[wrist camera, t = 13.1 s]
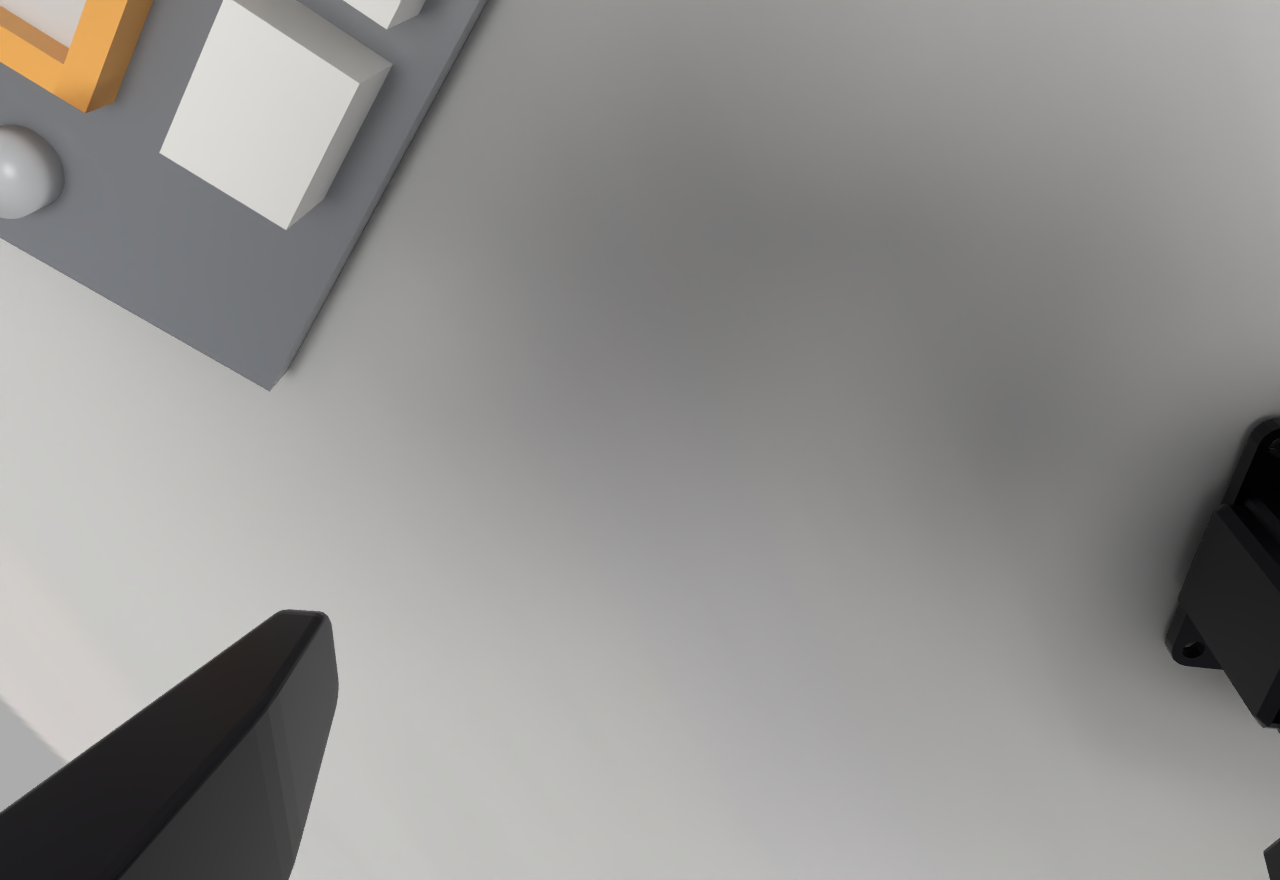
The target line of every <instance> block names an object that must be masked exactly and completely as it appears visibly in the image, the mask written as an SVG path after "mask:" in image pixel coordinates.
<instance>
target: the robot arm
mask: <svg viewBox="0 0 1280 880" xmlns="http://www.w3.org/2000/svg"><path fill="white" fill-rule="evenodd" d="M1279 438H1280V418H1273V419H1270V420H1267V421H1265V422H1262V423H1261V424H1260V425H1259V426H1257V427H1256V428H1255V429H1254V430H1253V432H1252V433H1251V435H1250V437H1249V439H1248V441H1247V444H1246V446H1245V449H1244V451H1243V453H1242V456H1241V458H1240V460H1239V463H1238V465H1237V468H1236V470H1235V472H1234V475H1233V477H1232V480H1231V482H1230V484H1229V487H1228V489H1227V492H1226V494H1225V496H1224V499H1223V501H1222V504H1221V506H1220V507H1219V508H1217V509H1216V510H1215V511H1214V512H1213V514H1212V516H1211V519H1210V521H1209V524H1208V526H1207V529H1206V531H1205V533H1204V536H1203V538H1202V541H1201V543H1200V545H1199V548H1198V550H1197V553H1196V555H1195V557H1194V560H1193V562H1192V565H1191V567H1190V570H1189V572H1188V574H1187V577H1186V579H1185V582H1184V584H1183V586H1182V589H1181V591H1180V594H1179V597H1178V598H1179V602H1180V604H1179V607H1178V609H1177V611H1176V614H1175V616H1174V619H1173V621H1172V623H1171V626H1170V628H1169V631H1168V633H1167V635H1166V640H1165V644H1166V647H1167V649H1168V651H1169V652H1170V654H1171V656H1172V658H1173V659H1174V660H1175V661H1176V662H1177V663H1179V664H1181V665H1185V666H1191V667H1201V668H1211V669H1221V670H1224V672H1225V673H1226V675H1227V676H1228V678H1229V679H1230V681H1231V682H1232V684H1233V686H1234V687H1235V689H1236V690H1237V692H1238V693H1239V695H1240V696H1241V698H1242V700H1243V701H1244V703H1245V704H1246V706H1247V707H1248V709H1249V710H1250V712H1251V714H1252V715H1253V716H1254V718H1255V719H1256V720H1257V722H1258V723H1259V724H1260V725H1261V726H1262V727H1263V728H1272V729H1277V730H1278V731H1279V733H1280V446H1278V447H1277V448H1273V449H1270V445H1271V444H1272V443H1273V442H1274V441H1275V440H1277V439H1279ZM1195 641H1197V642H1196V643H1195V644H1193V645H1191V646H1190V647H1184V646H1185V645H1186V644H1188V643H1190V642H1195ZM338 685H339V682H338V673H337V664H336V656H335V648H334V640H333V631H332V625H331V622H330V619H329V617H328V616H327V615H326V614H325V613H323V612H320V611H306V610H291V609H288V610H282V611H279V612H277V613H276V614H274V615H273V616H271V617H270V618H268V619H267V620H266V621H264V622H263V623H261V624H260V625H259V626H257V627H256V628H255V629H253V630H252V631H250V632H249V633H248V634H246V635H245V636H243V637H242V638H241V639H239V640H238V641H237V642H235V643H234V644H232V645H231V646H230V647H228V648H227V649H226V650H224V651H223V652H221V653H220V654H219V655H217V656H216V657H214V658H213V659H212V660H210V661H209V662H208V663H206V664H205V665H203V666H202V667H201V668H199V669H198V670H196V671H195V672H194V673H192V674H191V675H190V676H188V677H187V678H185V679H184V680H183V681H181V682H180V683H179V684H177V685H176V686H174V687H173V688H172V689H170V690H169V691H167V692H166V693H165V694H163V695H162V696H161V697H159V698H158V699H156V700H155V701H154V702H152V703H151V704H149V705H148V706H147V707H145V708H144V709H143V710H141V711H140V712H138V713H137V714H136V715H134V716H133V717H132V718H130V719H129V720H127V721H126V722H125V723H123V724H122V725H120V726H119V727H118V728H116V729H115V730H114V731H112V732H111V733H109V734H108V735H107V736H105V737H104V738H102V739H101V740H100V741H98V742H97V743H96V744H94V745H93V746H91V747H90V748H89V749H87V750H86V751H85V752H83V753H82V754H80V755H79V756H78V757H76V758H75V759H73V760H72V761H71V762H69V763H68V764H67V765H65V766H64V767H62V768H61V769H60V770H58V771H57V772H56V773H54V774H53V775H51V776H50V777H49V778H48V779H46V780H44V781H43V782H42V783H40V784H39V785H38V786H36V787H35V788H33V789H32V790H31V791H29V792H28V793H27V794H25V795H24V796H22V797H21V798H20V799H18V800H17V801H15V802H14V803H13V804H11V805H10V806H8V807H7V808H6V809H4V810H3V811H2V812H0V880H289V877H290V874H291V871H292V869H293V866H294V863H295V860H296V856H297V853H298V849H299V845H300V842H301V838H302V835H303V831H304V827H305V823H306V820H307V816H308V812H309V808H310V804H311V801H312V797H313V793H314V789H315V785H316V782H317V778H318V774H319V770H320V766H321V763H322V759H323V755H324V751H325V747H326V744H327V740H328V736H329V732H330V728H331V725H332V721H333V717H334V713H335V709H336V705H337V699H338ZM1264 857H1265V861H1266V865H1267V869H1268V873H1269V877H1270V880H1280V838H1279V839H1278V840H1277V841H1275V842H1274V843H1273V844H1272V845H1270V846H1269V847H1268V848H1267V849H1265V850H1264Z"/></svg>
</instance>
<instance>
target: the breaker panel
mask: <svg viewBox="0 0 1280 880" xmlns="http://www.w3.org/2000/svg"><path fill="white" fill-rule="evenodd" d="M486 2H487V0H0V238H2V239H3V240H5V241H7V242H9V243H10V244H12V245H14V246H16V247H17V248H19V249H21V250H23V251H25V252H26V253H28V254H30V255H32V256H33V257H35V258H37V259H39V260H40V261H42V262H44V263H46V264H47V265H49V266H51V267H53V268H54V269H56V270H58V271H60V272H61V273H63V274H65V275H67V276H68V277H70V278H72V279H74V280H75V281H77V282H79V283H81V284H82V285H84V286H86V287H88V288H89V289H91V290H93V291H95V292H96V293H98V294H100V295H102V296H103V297H105V298H107V299H109V300H110V301H112V302H114V303H116V304H117V305H119V306H121V307H123V308H124V309H126V310H128V311H130V312H131V313H133V314H135V315H137V316H139V317H140V318H142V319H144V320H146V321H147V322H149V323H151V324H153V325H154V326H156V327H158V328H160V329H161V330H163V331H165V332H167V333H168V334H170V335H172V336H174V337H175V338H177V339H179V340H181V341H182V342H184V343H186V344H188V345H189V346H191V347H193V348H195V349H196V350H198V351H200V352H202V353H203V354H205V355H207V356H209V357H210V358H212V359H214V360H216V361H217V362H219V363H221V364H223V365H224V366H226V367H228V368H230V369H231V370H233V371H235V372H237V373H238V374H240V375H242V376H244V377H245V378H247V379H249V380H251V381H253V382H254V383H256V384H258V385H260V386H261V387H263V388H265V389H267V390H268V391H270V390H271V389H272V388H273V387H274V385H275V384H276V383H277V382H278V381H279V380H280V379H281V377H282V376H283V375H284V374H285V373H286V372H287V370H288V368H289V366H290V364H291V362H292V361H293V359H294V357H295V355H296V353H297V351H298V349H299V348H300V346H301V344H302V342H303V340H304V338H305V337H306V335H307V333H308V331H309V329H310V327H311V325H312V324H313V322H314V320H315V318H316V316H317V314H318V312H319V311H320V309H321V307H322V305H323V303H324V301H325V300H326V298H327V296H328V294H329V292H330V290H331V288H332V287H333V285H334V283H335V281H336V279H337V277H338V276H339V274H340V272H341V270H342V268H343V266H344V264H345V263H346V261H347V259H348V257H349V255H350V253H351V252H352V250H353V248H354V246H355V244H356V242H357V240H358V239H359V237H360V235H361V233H362V231H363V229H364V228H365V226H366V224H367V222H368V220H369V218H370V216H371V215H372V213H373V211H374V209H375V207H376V205H377V204H378V202H379V200H380V198H381V196H382V194H383V192H384V191H385V189H386V187H387V185H388V183H389V181H390V180H391V178H392V176H393V174H394V172H395V170H396V168H397V167H398V165H399V163H400V161H401V159H402V157H403V156H404V154H405V152H406V150H407V148H408V146H409V144H410V143H411V141H412V139H413V137H414V135H415V133H416V132H417V130H418V128H419V126H420V124H421V122H422V120H423V119H424V117H425V115H426V113H427V111H428V109H429V107H430V106H431V104H432V102H433V100H434V98H435V96H436V95H437V93H438V91H439V89H440V87H441V85H442V83H443V82H444V80H445V78H446V76H447V74H448V72H449V71H450V69H451V67H452V65H453V63H454V61H455V59H456V58H457V56H458V54H459V52H460V50H461V48H462V47H463V45H464V43H465V41H466V39H467V37H468V35H469V34H470V32H471V30H472V28H473V26H474V24H475V23H476V21H477V19H478V17H479V15H480V13H481V11H482V10H483V8H484V6H485V4H486Z"/></svg>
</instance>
